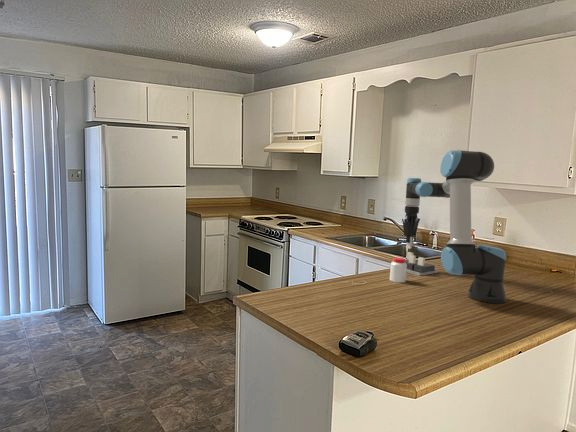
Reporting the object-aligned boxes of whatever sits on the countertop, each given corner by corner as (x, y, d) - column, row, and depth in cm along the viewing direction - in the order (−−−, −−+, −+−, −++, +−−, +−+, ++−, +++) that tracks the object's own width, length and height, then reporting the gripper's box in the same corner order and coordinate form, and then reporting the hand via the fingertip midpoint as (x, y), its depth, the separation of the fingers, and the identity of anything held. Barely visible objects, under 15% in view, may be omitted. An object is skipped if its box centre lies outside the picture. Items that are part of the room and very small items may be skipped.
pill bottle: (404, 279, 219) (405, 257, 218) (406, 283, 212) (408, 260, 210) (388, 277, 220) (390, 256, 219) (390, 281, 212) (392, 259, 211)
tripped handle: (413, 260, 245) (413, 252, 244) (411, 260, 244) (411, 252, 243) (408, 259, 247) (409, 251, 247) (406, 259, 246) (407, 251, 246)
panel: (437, 272, 237) (438, 265, 236) (418, 275, 228) (419, 267, 227) (410, 265, 251) (411, 258, 251) (392, 268, 242) (392, 260, 242)
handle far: (424, 265, 232) (425, 258, 231) (422, 266, 231) (422, 258, 230) (419, 264, 234) (420, 257, 234) (417, 264, 233) (418, 257, 233)
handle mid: (415, 263, 237) (415, 256, 236) (413, 263, 235) (413, 256, 235) (410, 262, 239) (411, 254, 238) (408, 262, 238) (409, 255, 237)
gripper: (414, 205, 248) (411, 246, 250) (398, 205, 240) (395, 247, 242) (425, 206, 241) (421, 248, 244) (409, 206, 234) (406, 250, 236)
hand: (408, 248), depth 243 cm, fingers closed
